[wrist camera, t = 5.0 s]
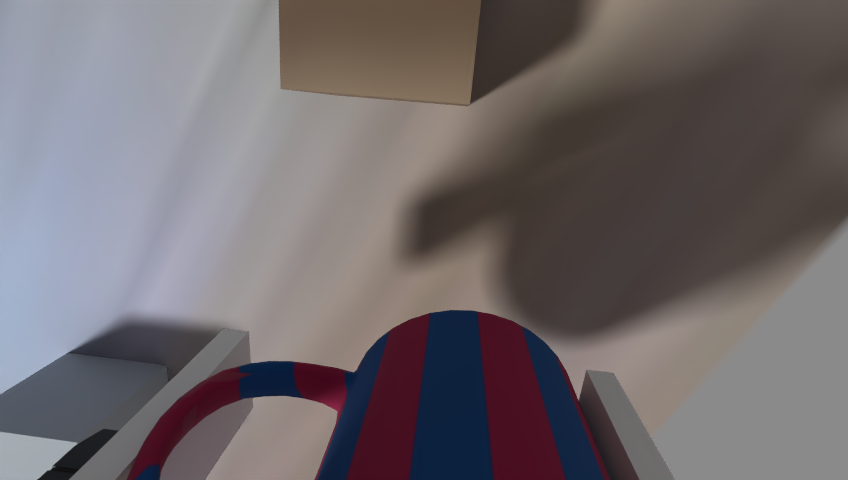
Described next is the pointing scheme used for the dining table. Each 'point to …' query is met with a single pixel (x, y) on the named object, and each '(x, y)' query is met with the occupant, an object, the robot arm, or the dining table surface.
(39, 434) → the slate block
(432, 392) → the mug
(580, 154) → the dining table surface
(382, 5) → the tan cube
